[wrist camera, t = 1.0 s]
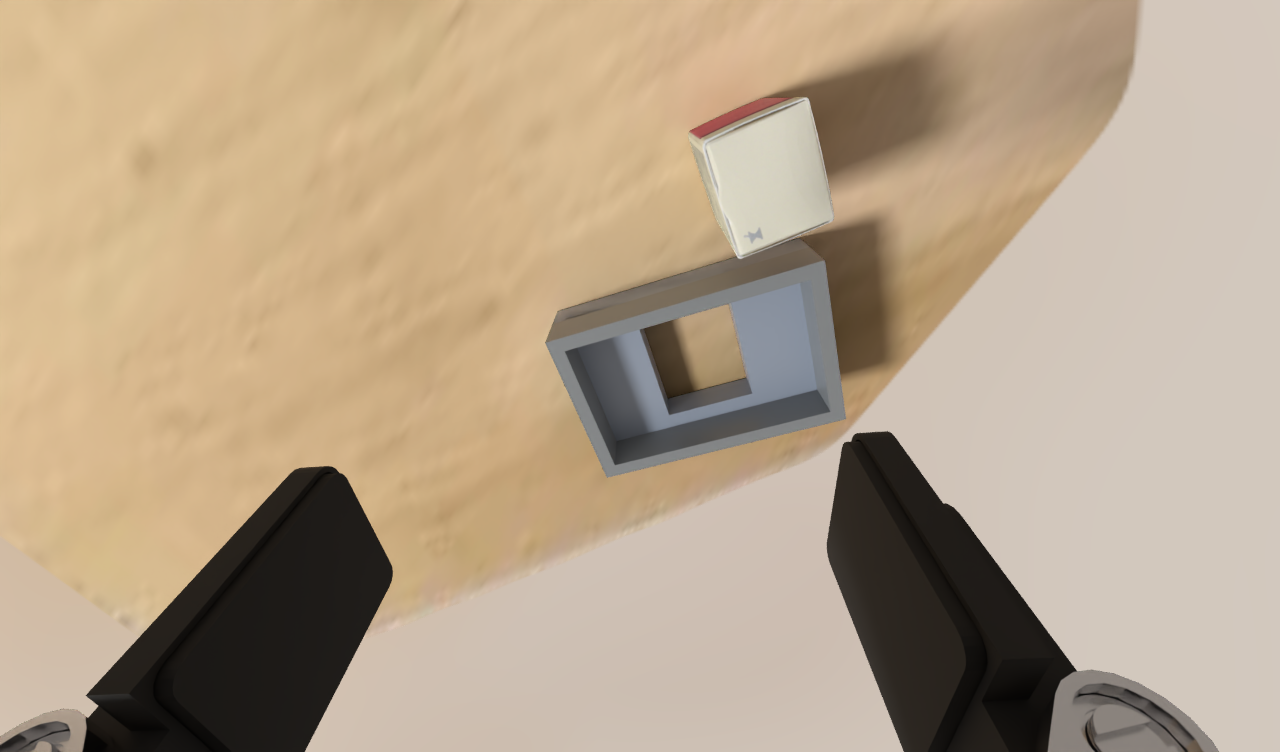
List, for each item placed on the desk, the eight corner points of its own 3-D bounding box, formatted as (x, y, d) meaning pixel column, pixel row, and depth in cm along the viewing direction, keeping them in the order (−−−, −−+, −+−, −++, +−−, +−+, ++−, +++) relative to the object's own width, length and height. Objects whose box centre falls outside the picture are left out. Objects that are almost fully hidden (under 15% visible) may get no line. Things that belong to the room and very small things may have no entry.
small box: (789, 191, 27) (839, 223, 20) (714, 222, 28) (738, 263, 21) (764, 93, 25) (812, 91, 18) (684, 130, 25) (699, 142, 18)
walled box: (799, 237, 28) (824, 260, 24) (821, 380, 33) (845, 419, 29) (557, 311, 30) (545, 342, 26) (610, 435, 35) (607, 477, 31)
